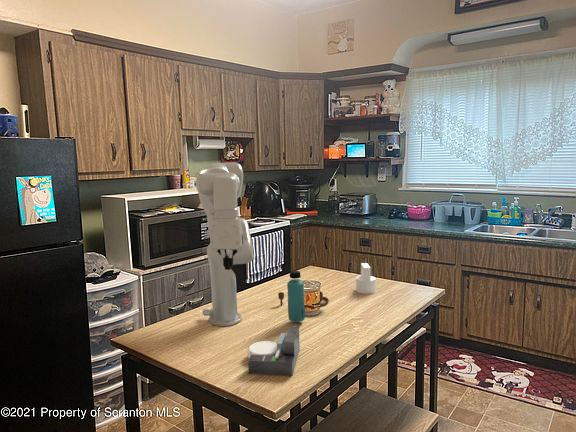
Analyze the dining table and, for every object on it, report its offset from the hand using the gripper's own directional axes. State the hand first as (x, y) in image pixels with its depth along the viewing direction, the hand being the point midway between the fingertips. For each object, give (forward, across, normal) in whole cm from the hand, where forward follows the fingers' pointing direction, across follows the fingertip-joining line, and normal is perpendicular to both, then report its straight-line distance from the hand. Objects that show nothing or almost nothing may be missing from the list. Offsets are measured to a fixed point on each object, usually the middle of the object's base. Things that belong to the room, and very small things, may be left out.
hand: (228, 268), depth 143 cm
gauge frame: (+26, +17, -11) cm, 33 cm away
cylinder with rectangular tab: (+29, +47, +61) cm, 82 cm away
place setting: (+29, +21, +44) cm, 57 cm away
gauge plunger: (+25, +19, -11) cm, 33 cm away
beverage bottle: (+28, +20, +20) cm, 39 cm away
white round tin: (+26, +13, -9) cm, 31 cm away
